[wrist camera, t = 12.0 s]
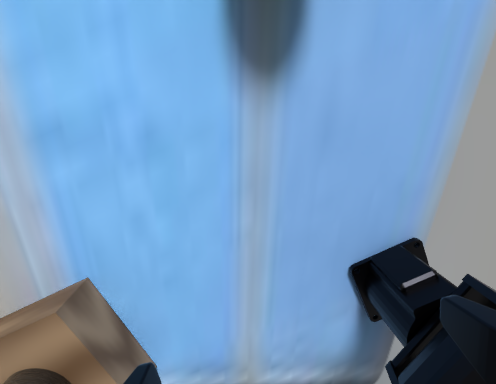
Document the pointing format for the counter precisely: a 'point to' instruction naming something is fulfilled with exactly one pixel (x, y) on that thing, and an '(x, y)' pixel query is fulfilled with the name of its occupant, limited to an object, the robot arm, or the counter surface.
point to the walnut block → (70, 338)
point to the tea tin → (36, 377)
